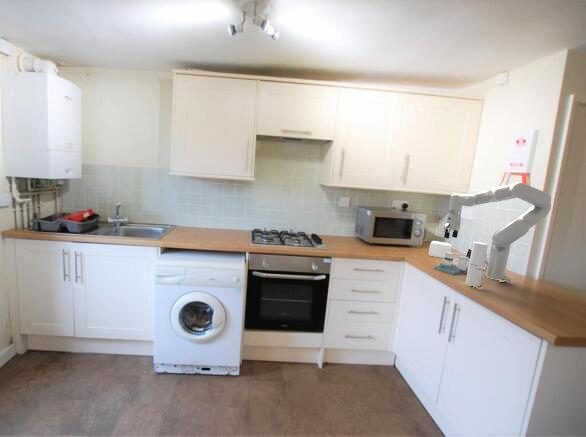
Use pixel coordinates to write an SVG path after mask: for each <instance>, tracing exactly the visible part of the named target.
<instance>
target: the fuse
mask: <svg viewBox="0 0 586 437" xmlns="http://www.w3.org/2000/svg"><path fill="white" fill-rule="evenodd" d="M469 259H470V256H465V255H459V256H458V264H457V267H458V268H457V269H461V270H466V269H467V264H468V262H469V261H468V260H469Z"/></svg>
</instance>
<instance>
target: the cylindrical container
mask: <svg viewBox="0 0 586 437" xmlns="http://www.w3.org/2000/svg"><path fill="white" fill-rule="evenodd" d="M488 246H489V244H488V243H487V242H481V241H473V242H472V246H471V250H470V251H471V252H470V256H469V261H468V267H467V269H468V272H467V274H466V279H465V283H467V284H470V285H474V286H477V287H481V283H482V277H483V272H484V268H485V267H484V266H485V262H486V256H487V252H488Z"/></svg>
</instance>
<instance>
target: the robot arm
mask: <svg viewBox="0 0 586 437" xmlns="http://www.w3.org/2000/svg"><path fill="white" fill-rule="evenodd" d="M449 197H450V198H449V204H448V212H447V218H446V220H445V225H443V228H444V236H443V238H444V239H450V235H451V237H452V238H455V239H457V238H458V235H459V230H460V228H461V223H462V222H461V219H462V209H463V206H465V207H474V206H478V205H483V204H488V203H498V202H503V201H508V200H511V199H518V200H519V199H520V201H521V200H522V201H524V202H526V203H529V204H530V205H531V207H530V208H529V209H527V210H526V211H525V212H523V213H522V214H520V215H519V216H518V217H516V218H515V219H513V220H511V221H510V222H509V223H508V224H506V225H505V226H504V227H502V228H500V229H498V230H496V231H495V232H494V233H493V234H492V237H491V240H492V241H491V246H490V251H489V256H488V261H487V265H486V271H485V274H486V276H488V277H490V278H494V279H500V280H506V282H512V281H513V280H512V278H511V277H509V276H507V274H506V269H507V265H508V259H509V255H510V251H511V250H510V249H511V245H512V244H513V243H514V242H516V241H517V240H519V239H520V238H522V237H523V236H525V235H526V234H528V232H529V231H530V229H531V228H533V227H534V226H536V225H537V224H538V223H539V222H541V221H543V220H544V219H545V218H546V217H547V216H548V215H549V213H550V211H551V208H552V202H551V201H552V196H551V195H550V194H549V193H548V192H547V191H546V192H545V191H543V190H541V189H538V188H536V187H534V186H531V185H529V184H526V183H524V182H515V183H512V184H508V185H503V186H499V187H493V188H491V189H489V190H486V191H481V192H478V193H473V194H461V193H452V194H451V195H450V196H449ZM451 231H452V234H451V233H450V232H451Z"/></svg>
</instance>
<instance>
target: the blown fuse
mask: <svg viewBox="0 0 586 437" xmlns="http://www.w3.org/2000/svg"><path fill="white" fill-rule="evenodd" d="M454 257H455V253H454V252H451V253H450V252H446V253H445V259H444V262H443V263H444V265H448V266H453V265H454V264H453V262H454Z"/></svg>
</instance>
